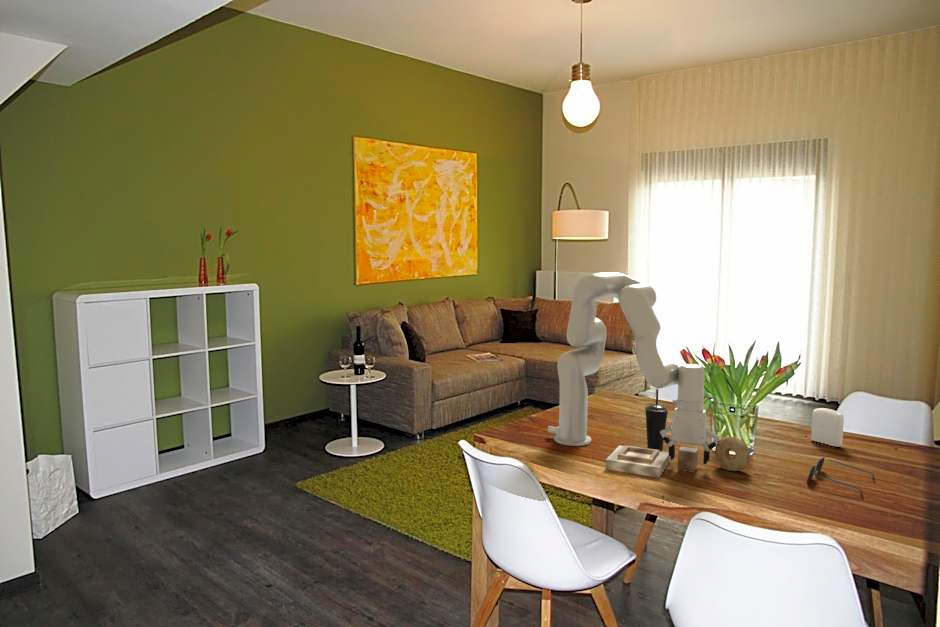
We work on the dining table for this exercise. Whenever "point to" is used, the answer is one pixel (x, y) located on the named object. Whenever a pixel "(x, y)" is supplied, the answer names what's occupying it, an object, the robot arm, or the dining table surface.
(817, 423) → the photo printer
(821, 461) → the sunglasses
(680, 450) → the walnut block
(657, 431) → the drinking cup
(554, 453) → the dining table surface
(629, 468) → the base
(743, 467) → the stone disc
